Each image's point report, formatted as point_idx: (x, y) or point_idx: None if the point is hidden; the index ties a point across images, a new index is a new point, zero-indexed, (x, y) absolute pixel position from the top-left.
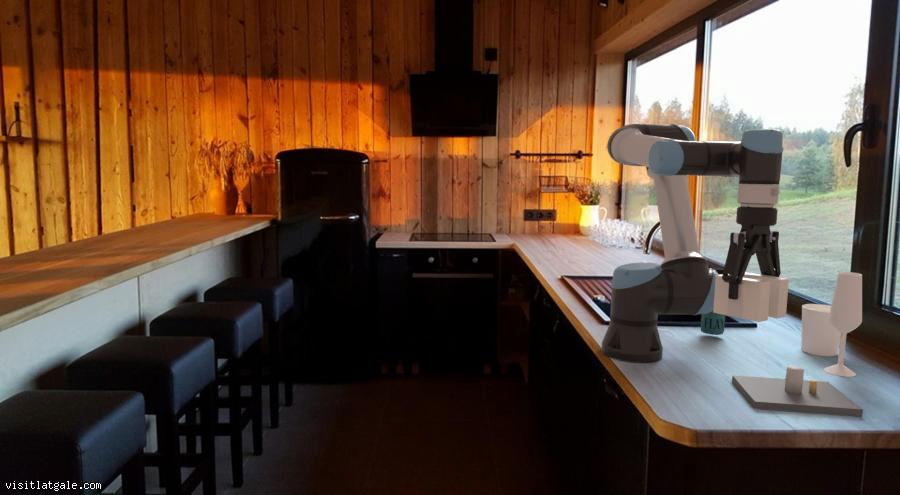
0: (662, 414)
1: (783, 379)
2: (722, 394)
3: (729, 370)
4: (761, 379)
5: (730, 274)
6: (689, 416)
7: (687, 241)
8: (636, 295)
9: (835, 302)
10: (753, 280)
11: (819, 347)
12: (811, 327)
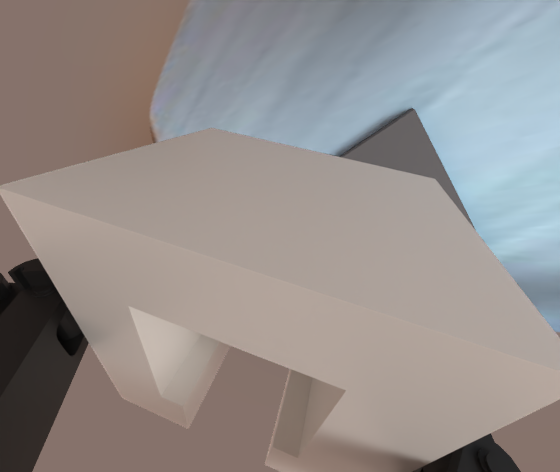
0: (157, 100)
1: (456, 203)
2: (312, 128)
3: (535, 51)
4: (424, 170)
5: (4, 325)
6: (186, 134)
7: None
8: None
9: None
10: (124, 383)
11: None
12: None
